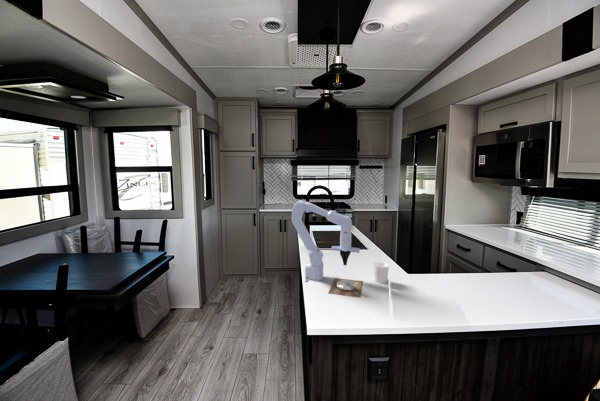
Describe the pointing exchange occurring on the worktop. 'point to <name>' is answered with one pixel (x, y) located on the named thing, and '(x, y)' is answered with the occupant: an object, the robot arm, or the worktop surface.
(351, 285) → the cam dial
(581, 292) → the worktop surface
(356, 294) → the brown flat rectangular slab
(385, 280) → the white cup
